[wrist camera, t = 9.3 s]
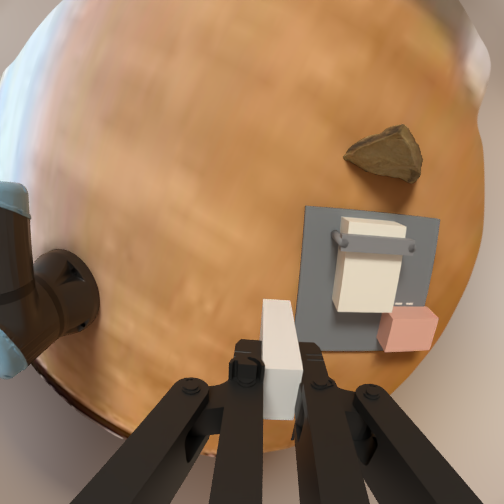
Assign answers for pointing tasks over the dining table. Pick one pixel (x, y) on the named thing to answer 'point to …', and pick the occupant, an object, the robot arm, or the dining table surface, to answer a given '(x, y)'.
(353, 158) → the rock
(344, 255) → the clamped cream block
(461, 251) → the dining table surface
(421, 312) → the stub
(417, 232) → the mat
